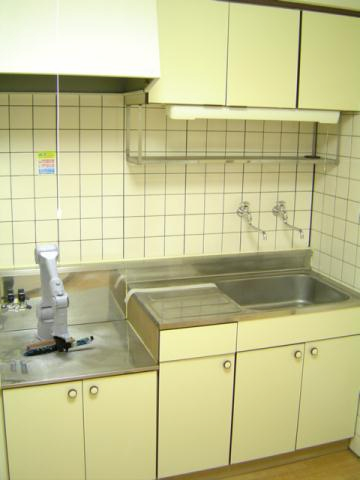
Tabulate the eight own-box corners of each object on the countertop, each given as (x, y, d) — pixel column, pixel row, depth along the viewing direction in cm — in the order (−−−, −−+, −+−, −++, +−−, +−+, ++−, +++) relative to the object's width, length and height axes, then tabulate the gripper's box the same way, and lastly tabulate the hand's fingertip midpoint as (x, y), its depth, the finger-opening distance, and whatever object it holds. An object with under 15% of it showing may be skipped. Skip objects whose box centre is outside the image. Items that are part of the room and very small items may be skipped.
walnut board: (26, 349, 236) (26, 344, 236) (67, 338, 249) (67, 334, 248) (33, 354, 231) (33, 350, 231) (75, 343, 244) (75, 339, 243)
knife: (94, 344, 240) (92, 334, 240) (95, 345, 237) (93, 335, 237) (24, 360, 231) (22, 349, 231) (24, 361, 228) (22, 351, 228)
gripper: (44, 319, 232) (45, 348, 235) (59, 329, 222) (60, 360, 224) (59, 315, 237) (59, 344, 240) (75, 325, 226) (75, 355, 229)
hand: (61, 351), depth 232 cm, fingers closed, pressing on knife
